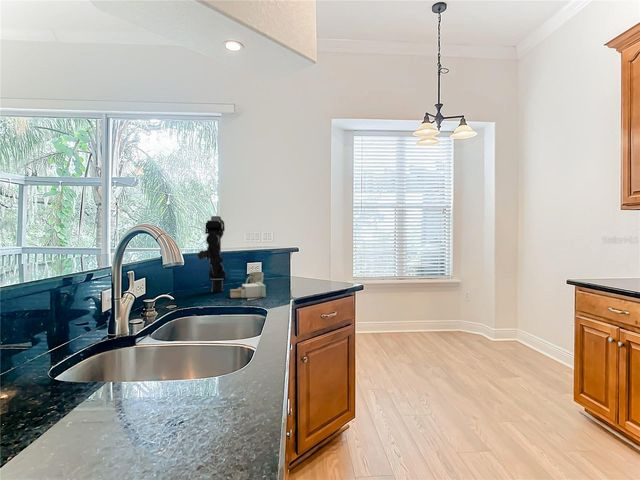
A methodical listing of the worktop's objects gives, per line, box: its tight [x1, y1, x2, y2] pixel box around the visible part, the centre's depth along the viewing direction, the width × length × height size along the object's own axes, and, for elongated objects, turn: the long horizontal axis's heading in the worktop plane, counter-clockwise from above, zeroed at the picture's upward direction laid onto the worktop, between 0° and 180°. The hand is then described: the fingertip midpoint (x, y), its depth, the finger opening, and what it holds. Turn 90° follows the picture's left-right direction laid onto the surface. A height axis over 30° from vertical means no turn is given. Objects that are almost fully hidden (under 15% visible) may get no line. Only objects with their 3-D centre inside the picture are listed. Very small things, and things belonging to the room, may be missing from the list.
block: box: [237, 283, 261, 299], centre depth 198 cm, size 10×10×6 cm
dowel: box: [229, 288, 243, 299], centre depth 196 cm, size 4×12×4 cm, turn 112°
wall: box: [256, 282, 267, 298], centre depth 201 cm, size 14×2×6 cm, turn 23°
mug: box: [245, 271, 264, 284], centre depth 215 cm, size 8×13×10 cm, turn 148°
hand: (214, 275), depth 191 cm, fingers closed
